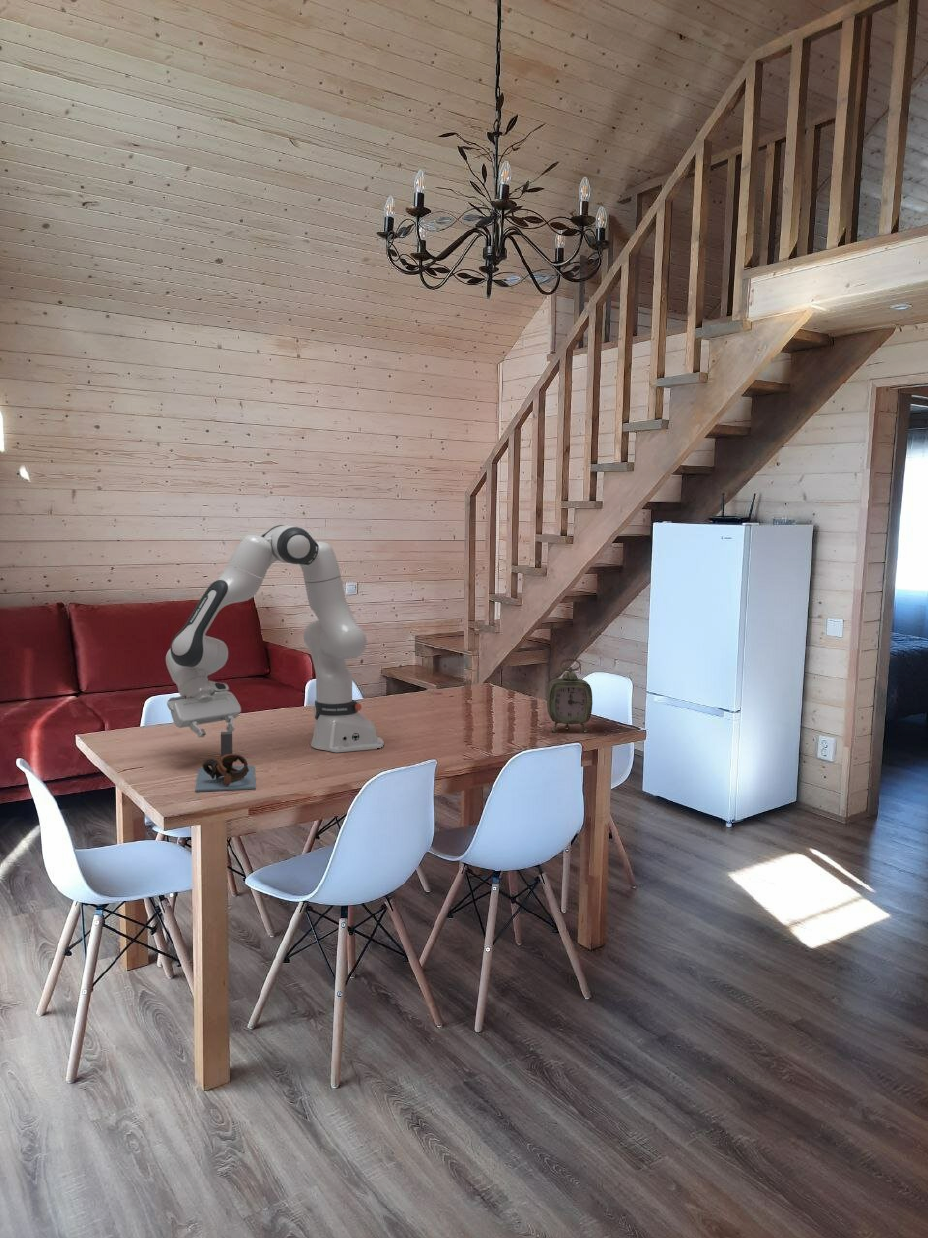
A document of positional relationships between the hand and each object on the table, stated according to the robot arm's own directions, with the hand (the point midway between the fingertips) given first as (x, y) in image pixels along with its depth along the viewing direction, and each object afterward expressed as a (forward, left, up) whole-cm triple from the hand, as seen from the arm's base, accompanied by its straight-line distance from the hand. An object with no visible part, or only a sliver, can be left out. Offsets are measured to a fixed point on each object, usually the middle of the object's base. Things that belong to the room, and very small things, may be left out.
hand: (217, 733), depth 252 cm
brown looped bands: (-3, +17, -9) cm, 19 cm away
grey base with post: (-3, +13, -10) cm, 16 cm away
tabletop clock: (-115, -26, -10) cm, 118 cm away
